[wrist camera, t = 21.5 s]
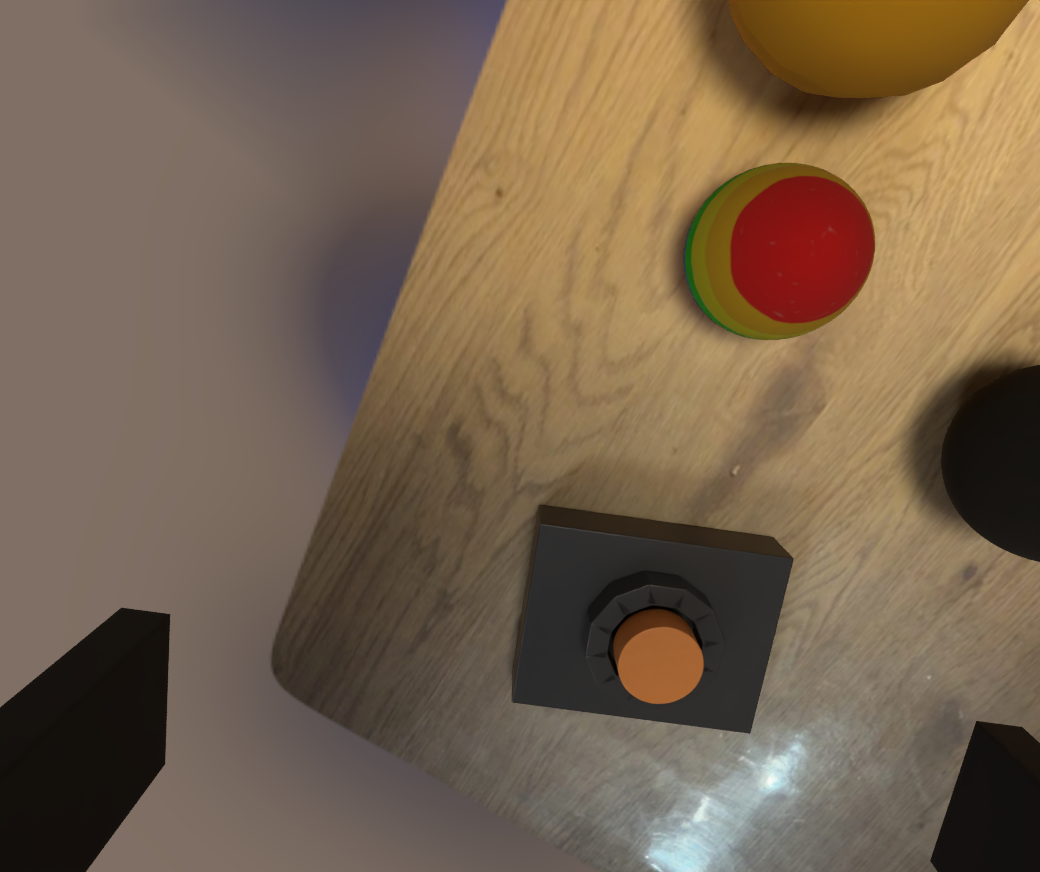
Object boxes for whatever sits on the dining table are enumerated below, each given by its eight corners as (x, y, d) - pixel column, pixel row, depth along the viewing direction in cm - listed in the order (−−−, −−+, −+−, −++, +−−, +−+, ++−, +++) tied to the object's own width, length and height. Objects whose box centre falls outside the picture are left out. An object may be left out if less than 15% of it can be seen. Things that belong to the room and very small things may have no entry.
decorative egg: (849, 209, 37) (966, 185, 27) (783, 354, 38) (871, 380, 29) (707, 152, 36) (776, 106, 26) (647, 302, 38) (690, 311, 28)
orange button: (606, 676, 38) (611, 698, 36) (620, 602, 37) (626, 621, 35) (685, 687, 38) (694, 709, 36) (701, 614, 37) (712, 633, 35)
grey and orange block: (512, 671, 43) (510, 722, 38) (538, 504, 40) (540, 535, 36) (734, 701, 43) (761, 754, 38) (773, 537, 41) (807, 572, 36)
